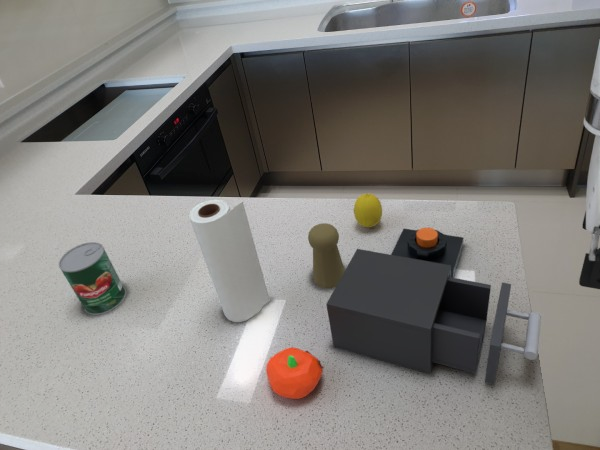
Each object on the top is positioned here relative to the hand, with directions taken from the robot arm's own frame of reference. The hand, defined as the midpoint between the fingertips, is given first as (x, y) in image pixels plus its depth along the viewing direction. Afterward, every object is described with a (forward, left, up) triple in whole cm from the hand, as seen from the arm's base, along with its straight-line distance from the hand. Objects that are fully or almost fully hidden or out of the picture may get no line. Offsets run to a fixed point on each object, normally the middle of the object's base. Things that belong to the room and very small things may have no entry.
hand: (597, 256), depth 50 cm
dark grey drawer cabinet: (+24, +1, -20) cm, 31 cm away
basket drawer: (+13, +1, -19) cm, 23 cm away
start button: (+23, -17, -16) cm, 33 cm away
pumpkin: (+34, +15, -20) cm, 42 cm away
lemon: (+36, -23, -20) cm, 47 cm away
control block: (+23, -17, -20) cm, 35 cm away
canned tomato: (+77, +11, -20) cm, 80 cm away
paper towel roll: (+49, +5, -20) cm, 53 cm away
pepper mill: (+38, -7, -20) cm, 43 cm away
